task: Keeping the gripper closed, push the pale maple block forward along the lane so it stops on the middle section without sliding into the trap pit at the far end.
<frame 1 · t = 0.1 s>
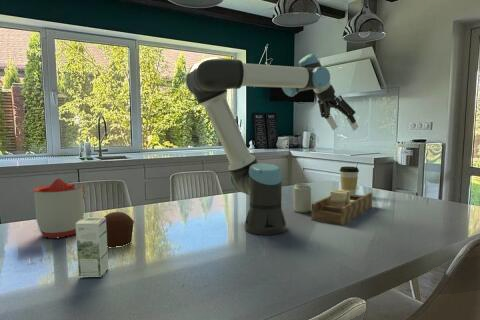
hand: (345, 128, 153), 36 cm above the table, tool tilted 35°, fingers open, 13 cm apart
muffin: (117, 243, 111), on the table
coffee cup: (348, 195, 182), on the table
syrup box: (94, 274, 88), on the table
maple block: (340, 205, 143), point 4 cm above the table, touching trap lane
citrus juicer: (64, 233, 123), on the table
can: (302, 211, 150), on the table
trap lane: (343, 212, 147), on the table
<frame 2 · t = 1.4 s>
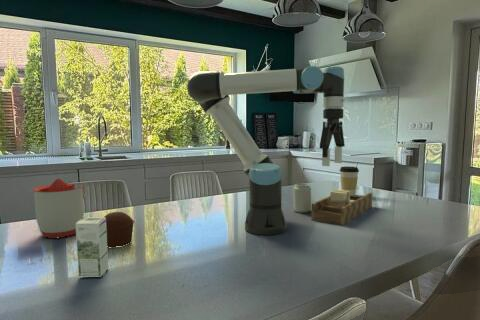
hand: (332, 164, 134), 22 cm above the table, tool pointing down, fingers open, 12 cm apart
nothing on the table moved.
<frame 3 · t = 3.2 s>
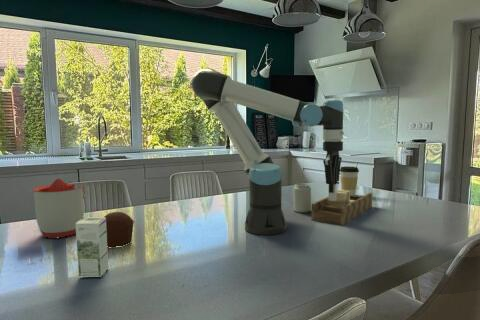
hand: (332, 200, 135), 8 cm above the table, tool pointing down, fingers closed
nothing on the table moved.
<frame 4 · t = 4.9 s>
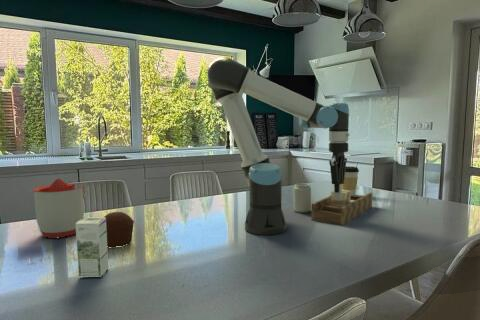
hand: (337, 199, 140), 7 cm above the table, tool pointing down, fingers closed
maple block: (340, 205, 143), point 4 cm above the table, touching gripper
everything else where it was.
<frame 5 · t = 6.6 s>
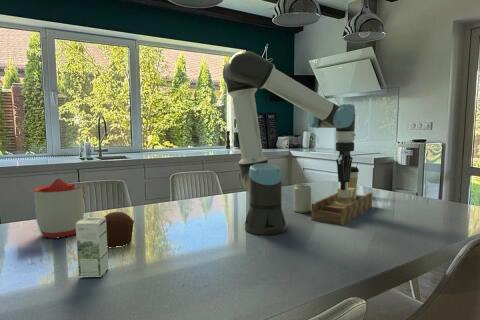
hand: (343, 197, 145), 7 cm above the table, tool pointing down, fingers closed
maple block: (346, 202, 149), point 4 cm above the table, touching gripper, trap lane
everything else where it was.
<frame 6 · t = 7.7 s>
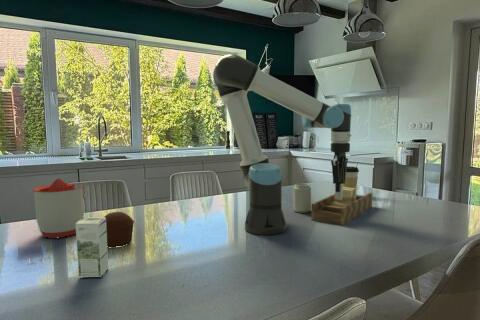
hand: (338, 199, 142), 7 cm above the table, tool pointing down, fingers closed
maple block: (346, 202, 149), point 4 cm above the table, touching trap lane
everything else where it was.
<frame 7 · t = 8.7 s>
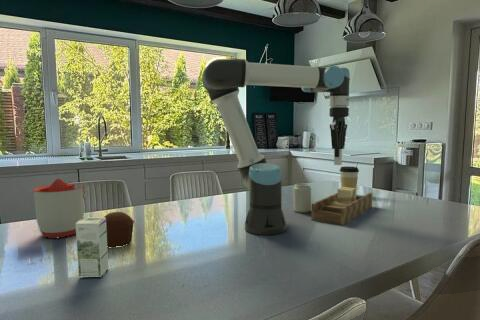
hand: (337, 164, 141), 21 cm above the table, tool pointing down, fingers closed
nothing on the table moved.
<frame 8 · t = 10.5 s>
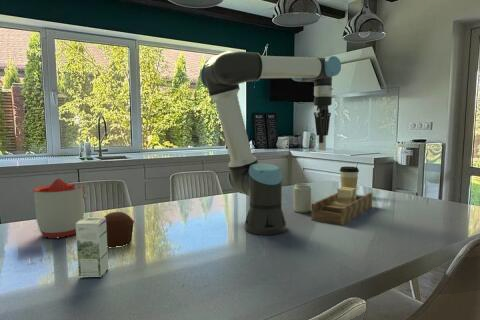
hand: (322, 150, 152), 26 cm above the table, tool pointing down, fingers closed
nothing on the table moved.
at the end: maple block inside the target area (1.5 cm from its centre), point 4.0 cm above the table; maple block tilted 0° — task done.
